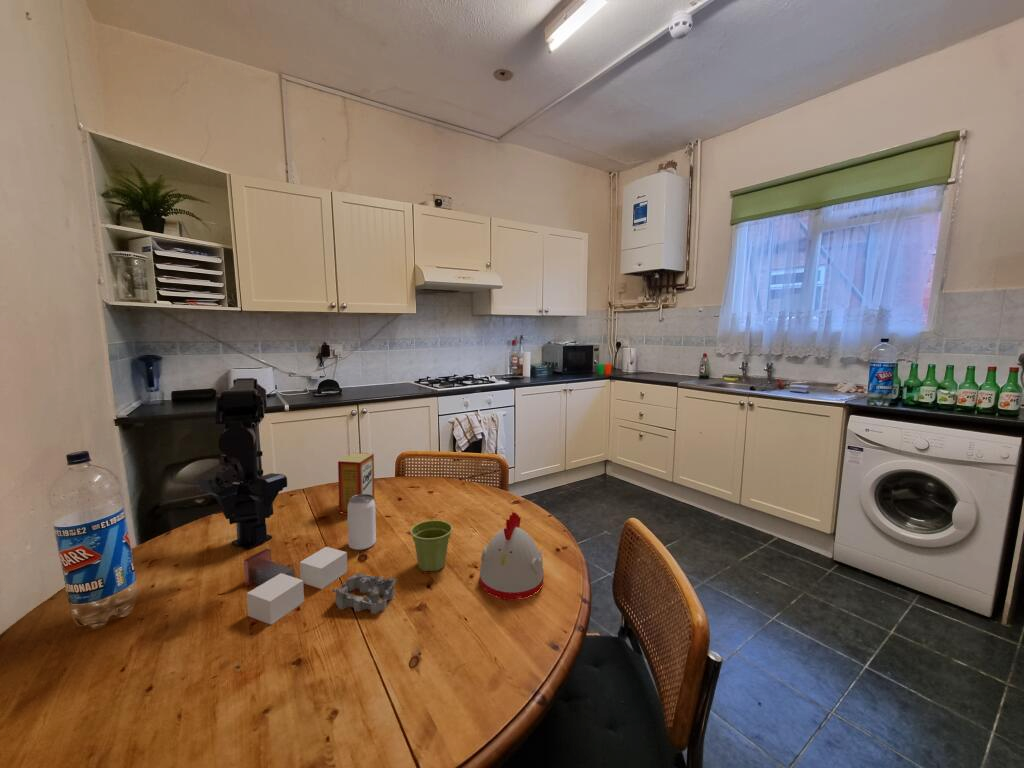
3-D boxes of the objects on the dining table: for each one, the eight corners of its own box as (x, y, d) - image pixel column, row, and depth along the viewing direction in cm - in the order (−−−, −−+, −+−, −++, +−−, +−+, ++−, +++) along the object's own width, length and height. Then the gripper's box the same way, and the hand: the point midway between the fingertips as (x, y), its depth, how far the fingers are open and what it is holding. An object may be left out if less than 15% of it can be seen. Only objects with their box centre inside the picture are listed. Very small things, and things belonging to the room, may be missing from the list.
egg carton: (329, 609, 78) (328, 589, 77) (352, 586, 85) (351, 568, 84) (380, 618, 76) (380, 597, 75) (399, 593, 83) (399, 574, 82)
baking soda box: (354, 500, 129) (353, 451, 127) (374, 501, 128) (373, 452, 126) (339, 513, 119) (338, 460, 118) (360, 514, 119) (359, 461, 117)
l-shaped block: (244, 583, 85) (243, 560, 84) (267, 570, 90) (266, 548, 89) (276, 594, 81) (275, 570, 81) (298, 580, 86) (297, 557, 86)
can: (366, 552, 98) (366, 504, 97) (342, 549, 99) (341, 502, 98) (380, 539, 104) (380, 494, 103) (357, 536, 106) (357, 492, 104)
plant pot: (402, 564, 93) (402, 528, 92) (436, 550, 100) (436, 516, 99) (426, 581, 87) (426, 543, 86) (460, 564, 94) (460, 528, 93)
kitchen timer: (468, 590, 84) (469, 521, 82) (494, 557, 97) (495, 497, 95) (532, 607, 79) (534, 534, 78) (550, 570, 92) (552, 507, 91)
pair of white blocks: (248, 615, 75) (246, 593, 74) (326, 565, 92) (326, 546, 92) (271, 624, 73) (270, 601, 72) (347, 571, 90) (346, 552, 89)
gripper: (169, 454, 82) (173, 530, 82) (238, 459, 76) (242, 541, 77) (223, 444, 92) (226, 511, 93) (287, 447, 87) (290, 519, 87)
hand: (244, 520), depth 87 cm, fingers open, 9 cm apart
